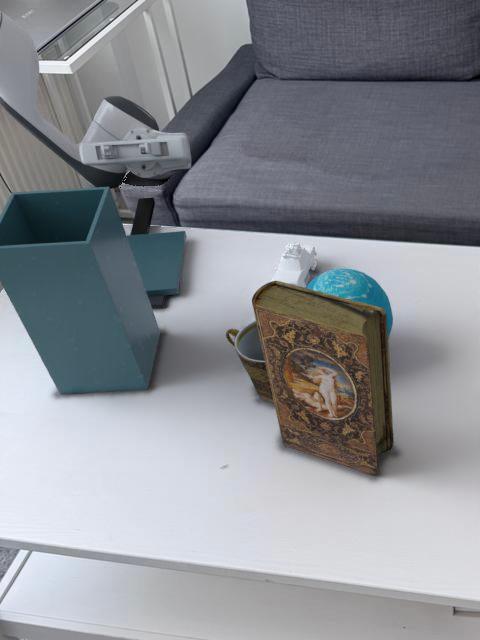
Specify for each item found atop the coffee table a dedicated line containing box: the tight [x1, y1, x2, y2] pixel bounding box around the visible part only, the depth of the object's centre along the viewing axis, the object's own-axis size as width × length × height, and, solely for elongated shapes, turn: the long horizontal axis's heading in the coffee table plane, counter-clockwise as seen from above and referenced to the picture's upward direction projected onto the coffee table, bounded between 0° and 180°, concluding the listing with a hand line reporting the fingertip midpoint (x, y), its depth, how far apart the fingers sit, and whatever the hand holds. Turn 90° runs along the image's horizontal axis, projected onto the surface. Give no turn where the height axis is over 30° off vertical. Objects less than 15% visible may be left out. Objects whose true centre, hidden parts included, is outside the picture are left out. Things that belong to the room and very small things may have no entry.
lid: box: [126, 197, 188, 296], centre depth 140 cm, size 31×18×1 cm, turn 4°
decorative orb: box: [305, 267, 394, 341], centre depth 115 cm, size 15×15×15 cm
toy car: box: [270, 241, 318, 288], centre depth 131 cm, size 6×12×7 cm, turn 167°
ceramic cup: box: [225, 320, 274, 405], centre depth 113 cm, size 13×10×10 cm
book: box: [251, 280, 395, 476], centre depth 99 cm, size 16×6×25 cm, turn 65°
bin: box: [0, 187, 161, 395], centre depth 112 cm, size 14×14×26 cm
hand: (124, 149), depth 134 cm, fingers open, 6 cm apart
